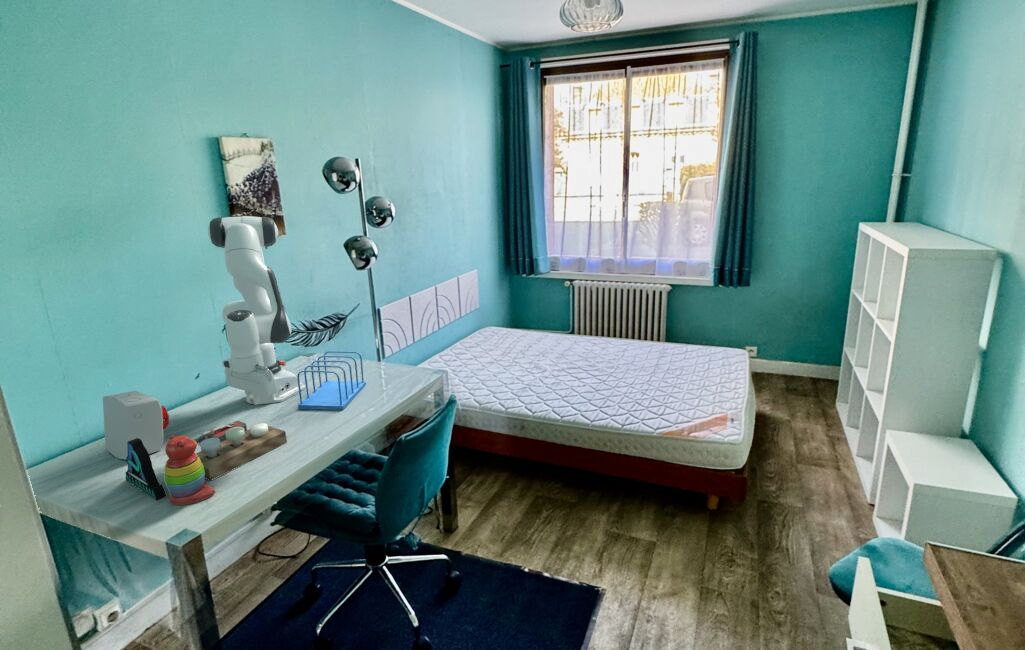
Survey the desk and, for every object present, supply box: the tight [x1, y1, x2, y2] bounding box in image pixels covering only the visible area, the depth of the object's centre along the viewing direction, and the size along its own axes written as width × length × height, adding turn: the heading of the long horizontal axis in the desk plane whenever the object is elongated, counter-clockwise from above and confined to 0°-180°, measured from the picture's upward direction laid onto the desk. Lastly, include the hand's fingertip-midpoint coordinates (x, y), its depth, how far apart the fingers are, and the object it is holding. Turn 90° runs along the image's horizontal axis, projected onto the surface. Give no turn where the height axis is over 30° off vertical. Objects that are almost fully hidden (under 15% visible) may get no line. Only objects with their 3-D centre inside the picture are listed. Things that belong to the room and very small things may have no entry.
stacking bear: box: [163, 434, 216, 506], centre depth 145 cm, size 11×10×18 cm
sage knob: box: [225, 427, 245, 448], centre depth 167 cm, size 5×5×5 cm
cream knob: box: [249, 422, 269, 437], centre depth 174 cm, size 5×5×5 cm
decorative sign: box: [125, 438, 167, 502], centre depth 150 cm, size 19×2×15 cm, turn 56°
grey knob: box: [199, 438, 221, 459], centre depth 160 cm, size 5×5×5 cm
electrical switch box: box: [102, 390, 170, 461], centre depth 173 cm, size 15×15×20 cm
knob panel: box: [195, 425, 288, 481], centre depth 168 cm, size 26×12×4 cm, turn 150°
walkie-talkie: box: [193, 420, 248, 442], centre depth 179 cm, size 9×4×20 cm
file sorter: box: [296, 350, 367, 411], centre depth 210 cm, size 25×17×15 cm
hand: (254, 403), depth 171 cm, fingers closed
